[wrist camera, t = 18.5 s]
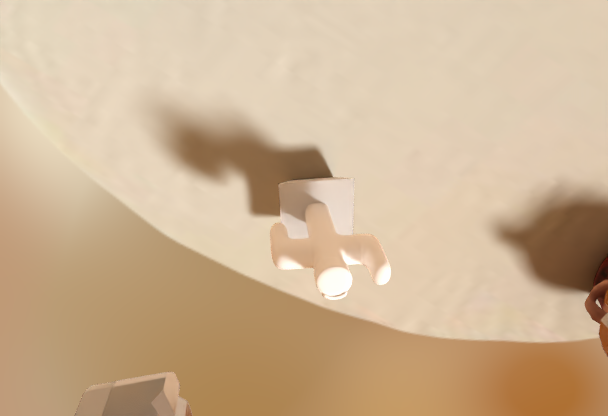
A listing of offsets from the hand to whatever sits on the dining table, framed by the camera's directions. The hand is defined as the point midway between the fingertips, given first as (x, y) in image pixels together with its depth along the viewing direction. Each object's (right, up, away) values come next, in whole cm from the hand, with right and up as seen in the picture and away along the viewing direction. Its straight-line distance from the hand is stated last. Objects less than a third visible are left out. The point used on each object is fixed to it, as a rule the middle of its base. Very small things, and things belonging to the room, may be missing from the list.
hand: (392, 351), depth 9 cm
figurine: (-1, +4, +40) cm, 41 cm away
